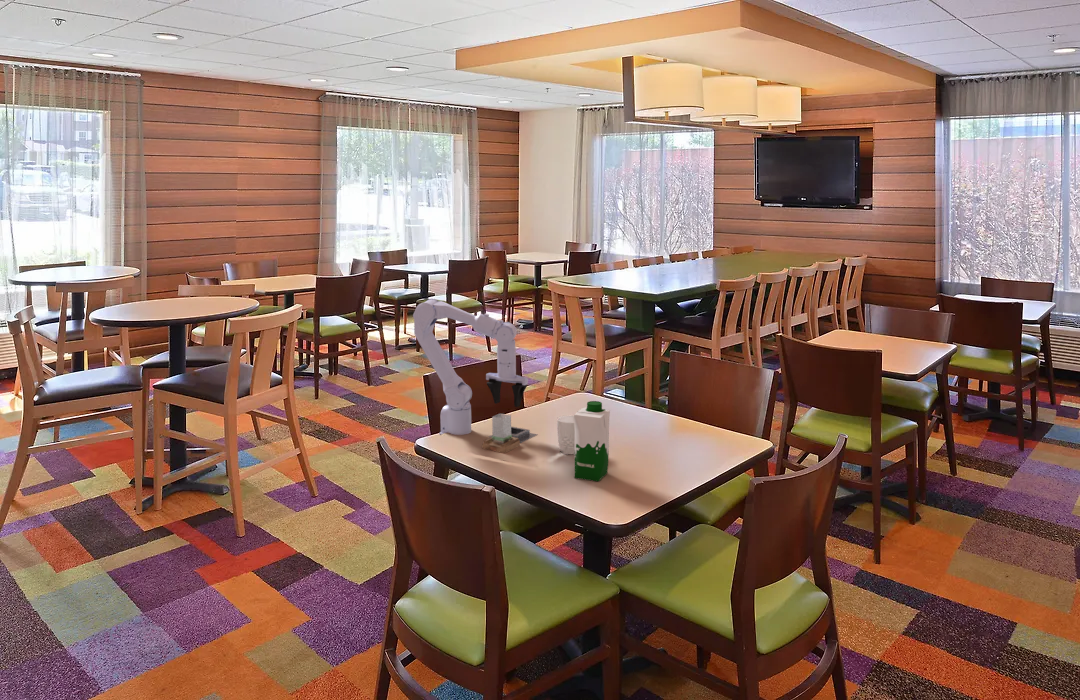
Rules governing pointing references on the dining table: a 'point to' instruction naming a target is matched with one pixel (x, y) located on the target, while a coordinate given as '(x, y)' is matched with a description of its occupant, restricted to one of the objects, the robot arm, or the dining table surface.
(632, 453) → the dining table surface
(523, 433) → the stand base
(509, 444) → the tray
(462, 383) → the robot arm
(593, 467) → the milk carton
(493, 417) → the column
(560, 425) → the white cup
